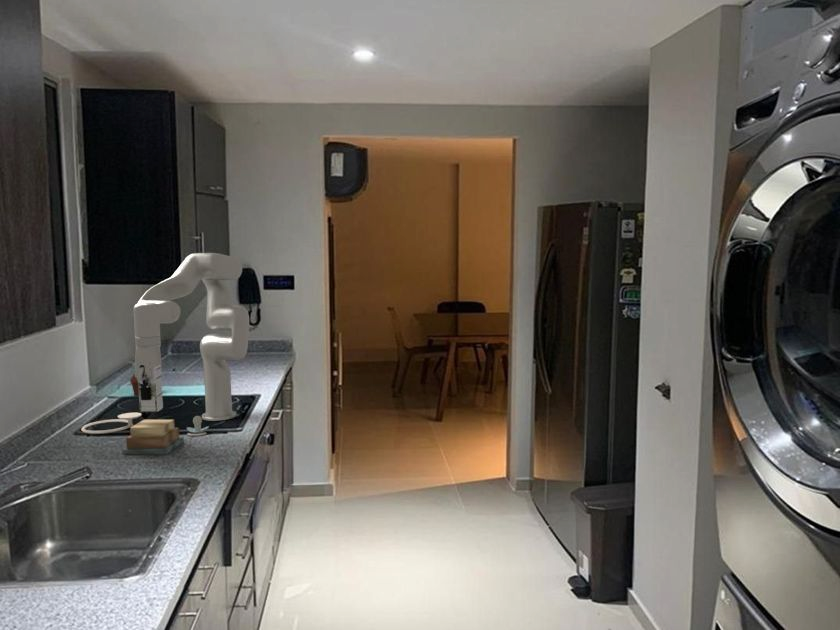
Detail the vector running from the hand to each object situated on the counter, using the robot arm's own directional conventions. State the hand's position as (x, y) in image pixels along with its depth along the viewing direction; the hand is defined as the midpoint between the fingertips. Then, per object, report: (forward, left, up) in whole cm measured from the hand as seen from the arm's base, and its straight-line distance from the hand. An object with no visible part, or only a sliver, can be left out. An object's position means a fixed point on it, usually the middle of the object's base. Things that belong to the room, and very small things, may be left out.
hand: (150, 396), depth 226 cm
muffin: (-77, -38, -17) cm, 88 cm away
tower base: (0, 0, -17) cm, 17 cm away
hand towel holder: (-25, -26, -17) cm, 40 cm away
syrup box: (0, 0, -5) cm, 5 cm away
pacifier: (-16, +8, -17) cm, 25 cm away
